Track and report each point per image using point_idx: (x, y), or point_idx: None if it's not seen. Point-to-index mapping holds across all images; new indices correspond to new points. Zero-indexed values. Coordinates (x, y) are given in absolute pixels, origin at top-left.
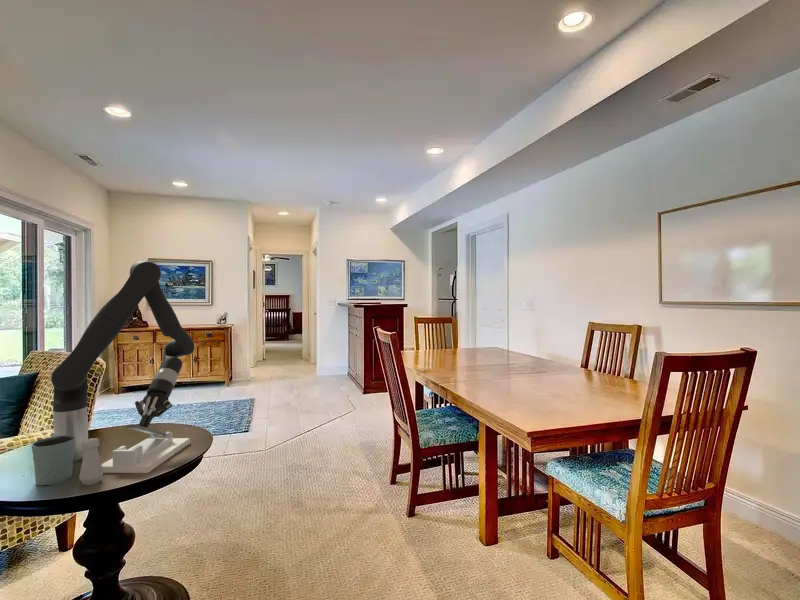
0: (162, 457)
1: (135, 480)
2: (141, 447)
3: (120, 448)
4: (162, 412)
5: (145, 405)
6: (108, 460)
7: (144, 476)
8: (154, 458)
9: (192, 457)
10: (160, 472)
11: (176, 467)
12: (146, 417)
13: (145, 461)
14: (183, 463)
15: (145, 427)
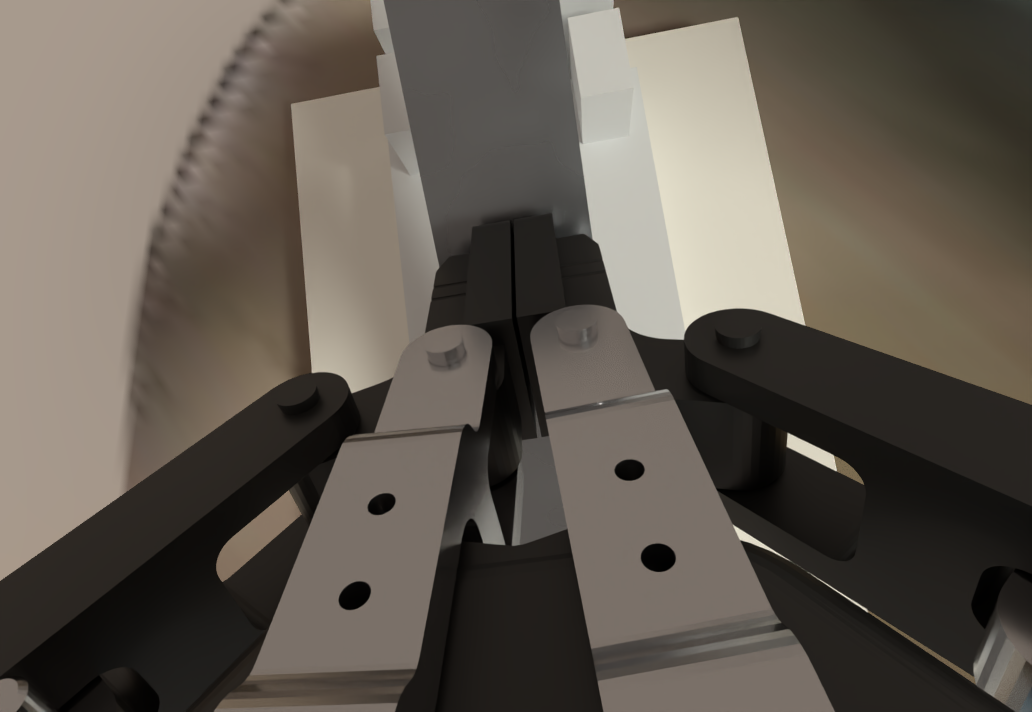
0: (310, 313)
1: (316, 14)
2: (387, 124)
3: (581, 21)
4: (236, 580)
5: (683, 460)
6: (764, 141)
7: (297, 79)
8: (351, 260)
9: (138, 469)
10: (223, 159)
11: (155, 259)
12: (481, 297)
13: (385, 186)
14: (144, 339)
15: (429, 219)
